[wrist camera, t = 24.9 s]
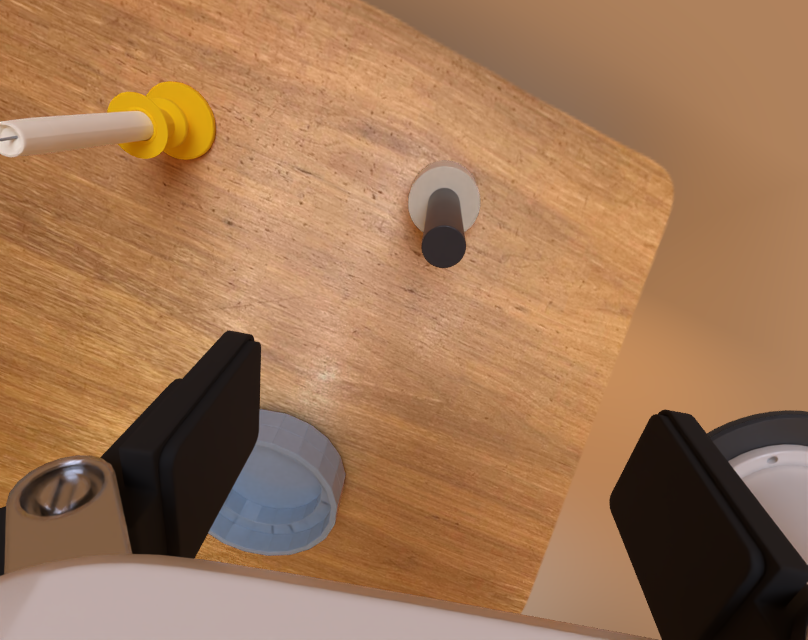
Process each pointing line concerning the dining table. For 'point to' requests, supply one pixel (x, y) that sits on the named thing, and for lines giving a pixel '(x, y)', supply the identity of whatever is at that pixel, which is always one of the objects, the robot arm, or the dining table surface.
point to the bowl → (283, 490)
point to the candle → (122, 126)
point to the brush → (444, 210)
